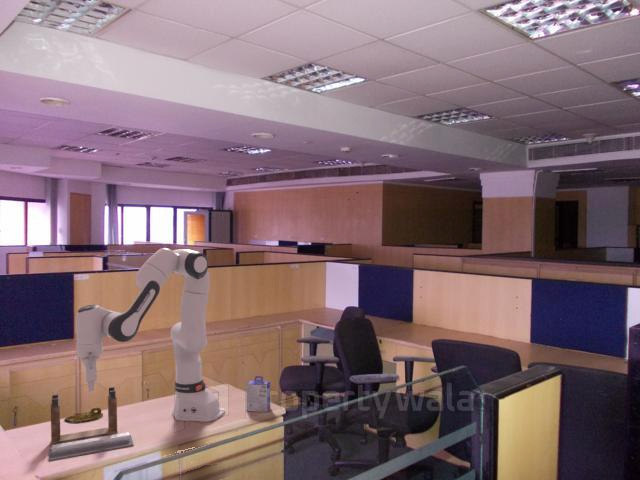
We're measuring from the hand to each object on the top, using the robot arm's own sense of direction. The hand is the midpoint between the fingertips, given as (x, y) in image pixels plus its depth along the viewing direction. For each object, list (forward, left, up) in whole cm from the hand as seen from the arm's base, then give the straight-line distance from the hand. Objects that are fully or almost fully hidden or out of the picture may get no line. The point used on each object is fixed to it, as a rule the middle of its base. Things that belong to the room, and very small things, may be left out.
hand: (90, 387), depth 190 cm
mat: (0, 0, -23) cm, 23 cm away
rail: (0, 0, -22) cm, 22 cm away
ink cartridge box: (-41, -55, -23) cm, 72 cm away
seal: (+25, -22, -23) cm, 41 cm away
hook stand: (+9, -6, -23) cm, 25 cm away
